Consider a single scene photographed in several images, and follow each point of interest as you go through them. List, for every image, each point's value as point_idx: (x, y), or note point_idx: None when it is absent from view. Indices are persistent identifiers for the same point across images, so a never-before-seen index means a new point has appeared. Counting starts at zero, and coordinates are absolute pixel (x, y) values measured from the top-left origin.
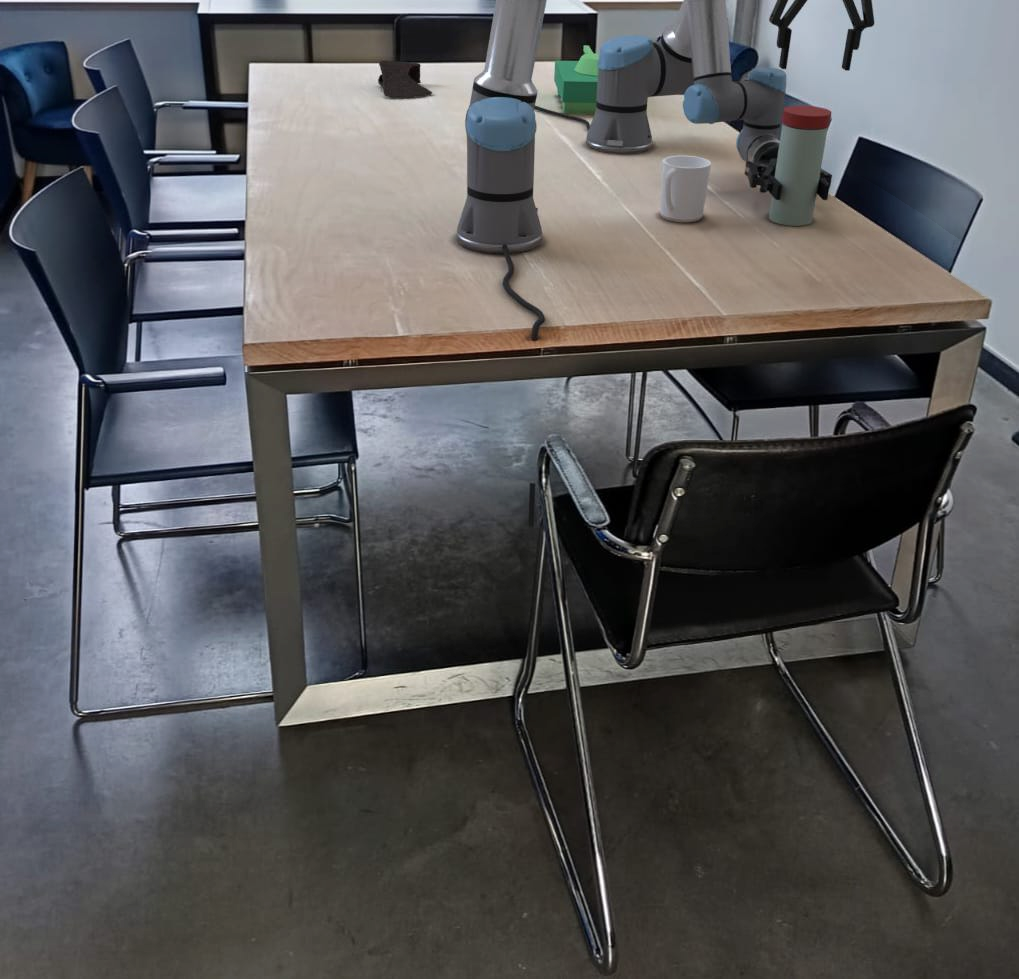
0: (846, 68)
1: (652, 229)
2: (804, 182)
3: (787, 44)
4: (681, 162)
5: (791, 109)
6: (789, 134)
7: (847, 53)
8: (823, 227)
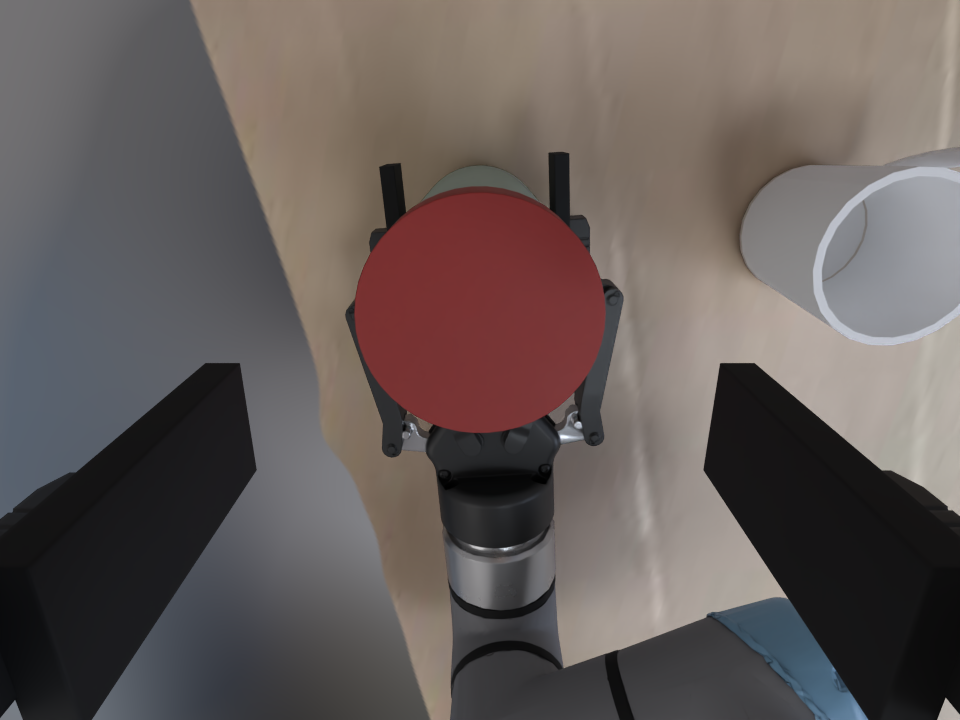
0: (226, 368)
1: (924, 100)
2: (470, 174)
3: (848, 459)
4: (877, 330)
5: (559, 342)
6: None
7: (184, 446)
8: (396, 159)
